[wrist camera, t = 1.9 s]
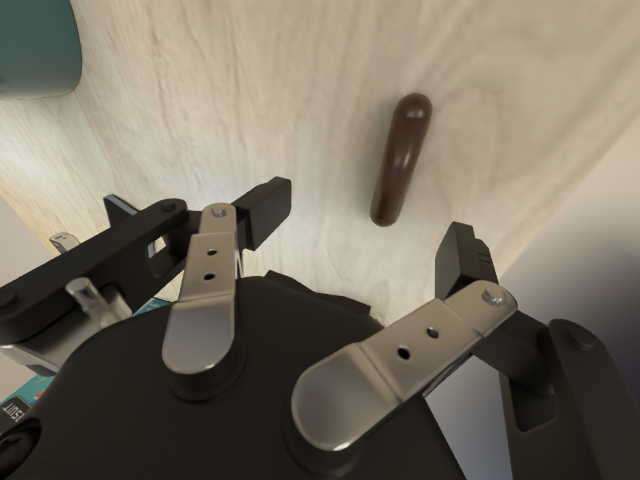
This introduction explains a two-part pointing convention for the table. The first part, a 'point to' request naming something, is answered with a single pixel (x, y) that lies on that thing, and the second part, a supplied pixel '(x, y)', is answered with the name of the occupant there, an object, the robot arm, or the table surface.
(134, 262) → the robot arm
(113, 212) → the smartphone
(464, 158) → the table surface
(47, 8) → the bowl
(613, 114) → the table surface
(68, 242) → the multiport hub
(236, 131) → the table surface
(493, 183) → the table surface
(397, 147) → the stick
